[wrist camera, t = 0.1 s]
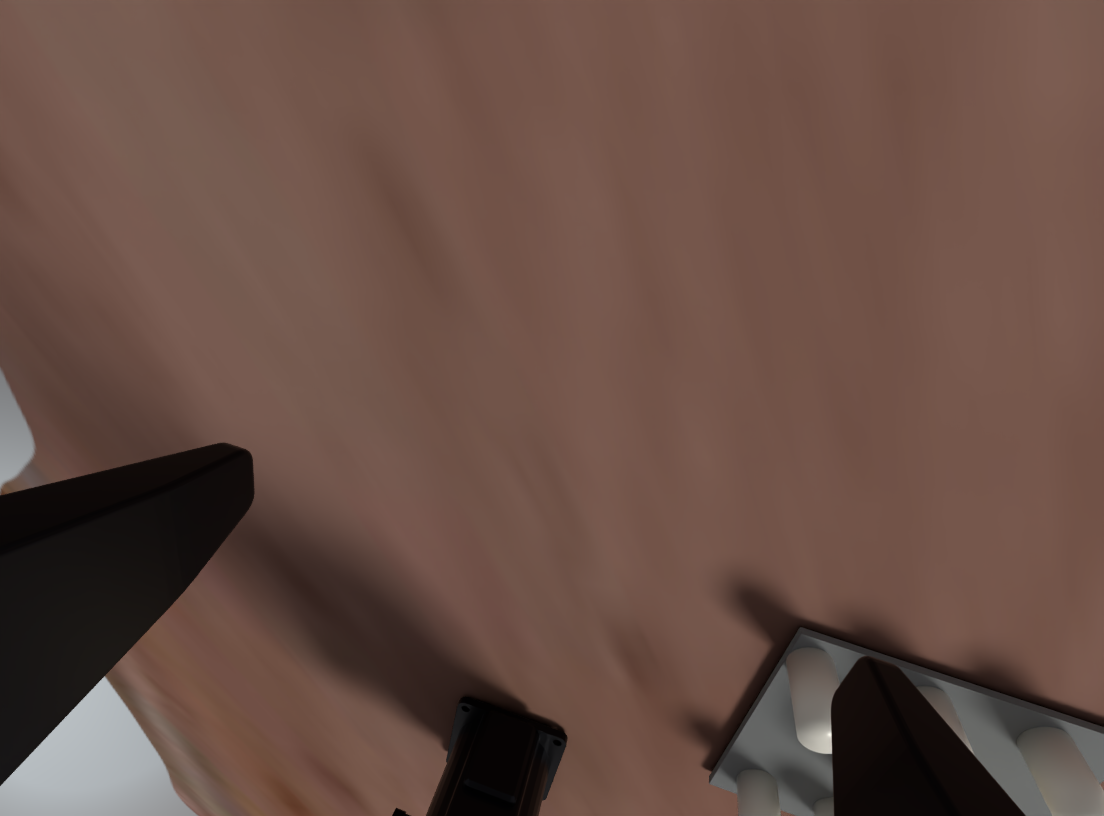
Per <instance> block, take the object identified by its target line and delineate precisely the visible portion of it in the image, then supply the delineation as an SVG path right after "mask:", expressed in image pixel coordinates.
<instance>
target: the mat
mask: <svg viewBox="0 0 1104 816" xmlns="http://www.w3.org/2000/svg"><path fill="white" fill-rule="evenodd" d="M804 647H813V648H818V649H821V650H823V651H825V652H827V653H828V654H829V655H830V656H831V657H832V658H833V660H834V663H835V667H836V671H837V675H838V679H839V684H841V682H842V681H843V680H844V678H845V677H846V675H847V674H848V672H849V671H850V670H851V668H852V667H853V665H854V664H855V663H856V661H857V660H858V659H859V658H861V657H862V656H871V657H874V658H877V659H880V660H883V661H886V662H889V663H892V664H894V665H896V666H897V667H899V668H900V669H901V670H902V671H903V672H904V674H905V675H906V676H907V677H908V678H909V679H910V681H911V682H912V683H913V684H914V685H915V686H916V687H918V686H930V687H935V688H938V689H940V690H942V691H944V692H945V693H946V694H948V696H949V697H950V699H951V701H952V704H953V706H954V708H955V711H956V713H957V715H958V718H959V720H960V722H961V725H962V727H963V729H964V732H965V734H966V736H967V739H968V741H969V743H970V746H971V748H972V750H973V753H974V755H975V757H976V758H977V759H978V760H979V761H980V762H981V764H982V765H983V766H984V767H985V768H986V769H987V771H988V772H989V773H990V774H991V775H992V776H993V778H994V779H995V780H996V781H997V782H998V783H999V785H1000V786H1001V787H1002V788H1003V789H1004V791H1005V792H1006V793H1007V794H1008V795H1009V796H1010V798H1011V799H1012V800H1013V801H1014V802H1015V803H1016V805H1017V806H1018V807H1019V808H1020V809H1021V810H1022V812H1023V813H1024V814H1025V815H1026V816H1052V814H1051V812H1050V810H1049V808H1048V806H1047V804H1046V802H1045V800H1044V798H1043V796H1042V794H1041V792H1040V790H1039V788H1038V786H1037V784H1036V782H1035V780H1034V778H1033V776H1032V774H1031V772H1030V770H1029V768H1028V766H1027V764H1026V762H1025V760H1024V758H1023V756H1022V754H1021V752H1020V750H1019V748H1018V746H1017V739H1018V737H1019V736H1020V734H1022V733H1023V732H1024V731H1026V730H1029V729H1032V728H1036V727H1053V728H1058V729H1061V730H1063V731H1065V732H1067V733H1068V734H1069V735H1070V736H1071V737H1072V739H1073V740H1074V742H1075V744H1076V745H1077V747H1078V749H1079V750H1080V752H1081V754H1082V755H1083V757H1084V759H1085V760H1086V762H1087V764H1088V765H1089V767H1090V769H1091V770H1092V772H1093V774H1094V775H1095V777H1096V779H1097V780H1098V782H1099V784H1100V783H1102V782H1103V781H1104V727H1102V726H1099V725H1096V724H1093V723H1090V722H1087V721H1084V720H1081V719H1078V718H1075V717H1071V716H1068V715H1065V714H1062V713H1059V712H1056V711H1053V710H1050V709H1047V708H1044V707H1041V706H1038V705H1035V704H1032V703H1029V702H1026V701H1023V700H1020V699H1017V698H1014V697H1011V696H1008V695H1005V694H1002V693H999V692H996V691H993V690H990V689H987V688H984V687H981V686H978V685H975V684H972V683H969V682H966V681H963V680H960V679H957V678H953V677H950V676H947V675H944V674H941V673H938V672H935V671H932V670H929V669H926V668H923V667H920V666H917V665H914V664H911V663H908V662H905V661H902V660H899V659H896V658H893V657H890V656H887V655H884V654H881V653H878V652H875V651H872V650H869V649H866V648H863V647H860V646H857V645H854V644H851V643H848V642H845V641H842V640H839V639H836V638H832V637H829V636H826V635H823V634H820V633H817V632H814V631H811V630H808V629H805V628H802V627H800V628H799V630H798V631H797V633H796V635H795V636H794V638H793V639H792V641H791V643H790V644H789V646H788V648H787V649H786V651H785V653H784V654H783V656H782V658H781V659H780V661H779V662H778V664H777V666H776V667H775V669H774V671H773V672H772V674H771V676H770V677H769V679H768V681H767V682H766V684H765V685H764V687H763V689H762V690H761V692H760V694H759V695H758V697H757V699H756V700H755V702H754V704H753V705H752V707H751V708H750V710H749V712H748V713H747V715H746V717H745V718H744V720H743V722H742V723H741V725H740V727H739V728H738V730H737V732H736V733H735V735H734V736H733V738H732V740H731V741H730V743H729V745H728V746H727V748H726V750H725V751H724V753H723V755H722V756H721V758H720V759H719V761H718V763H717V764H716V766H715V768H714V769H713V771H712V773H711V774H710V776H709V784H711V785H714V786H717V787H719V788H722V789H725V790H728V791H730V792H733V793H736V794H737V776H738V774H739V773H740V772H742V771H744V770H748V769H757V770H762V771H765V772H767V773H769V774H771V775H772V776H773V777H774V778H775V779H776V781H777V785H778V794H779V803H780V810H782V811H785V812H787V813H790V814H793V815H796V816H814V810H813V805H814V803H815V802H816V801H818V800H820V799H823V798H833V770H832V754H823V753H818V752H814V751H812V750H809V749H807V748H806V747H804V746H803V745H802V744H801V743H800V742H799V740H798V738H797V732H796V726H795V719H794V712H793V706H792V699H791V692H790V686H789V679H788V673H787V666H786V659H787V657H788V655H789V654H790V653H791V652H792V651H794V650H796V649H799V648H804Z"/></svg>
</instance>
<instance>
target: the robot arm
mask: <svg viewBox="0 0 1104 816" xmlns="http://www.w3.org/2000/svg"><path fill="white" fill-rule="evenodd" d="M253 499H254V473H253V458H252V455H251V453H250V452H249V451H248V450H246V449H244V448H241V447H238V446H235V445H231V444H228V443H217V444H213V445H209V446H205V447H201V448H197V449H192V450H188V451H184V452H180V453H176V454H172V455H167V456H163V457H159V458H155V459H151V460H146V461H142V462H138V463H134V464H130V465H126V466H121V467H117V468H113V469H109V470H105V471H101V472H96V473H92V474H88V475H84V476H80V477H76V478H71V479H67V480H63V481H59V482H55V483H51V484H46V485H42V486H38V487H34V488H30V489H25V490H21V491H17V492H13V493H9V494H5V495H0V786H1V785H2V784H3V782H4V781H5V780H6V779H7V778H8V777H9V776H10V775H11V774H12V773H13V772H14V771H15V770H16V769H17V768H18V767H19V766H20V765H21V763H22V762H23V761H24V760H25V759H26V758H27V757H28V756H29V755H30V754H31V753H32V752H33V751H34V750H35V749H36V748H37V747H38V746H39V744H40V743H41V742H42V741H43V740H44V739H45V738H46V737H47V736H48V735H49V734H50V733H51V732H52V731H53V730H54V729H55V727H57V726H58V725H59V723H60V722H61V721H62V720H63V719H64V718H65V717H66V716H67V715H68V714H69V713H70V712H71V711H72V710H73V709H74V708H75V707H76V706H77V704H78V703H79V702H80V701H81V700H82V699H83V698H84V697H85V696H86V695H87V694H88V693H89V692H90V691H91V690H92V689H93V688H94V686H96V684H97V683H98V682H99V681H100V680H101V679H102V678H103V677H104V676H105V675H106V674H107V673H108V672H109V671H110V670H111V669H112V668H113V667H114V665H115V664H116V663H117V662H118V661H119V660H120V659H121V658H122V657H123V656H124V655H125V654H126V653H127V652H128V651H129V650H130V649H131V648H132V647H133V645H134V644H135V643H136V642H137V641H138V640H139V639H140V638H141V637H142V636H143V635H144V634H145V633H146V632H147V631H148V630H149V629H150V628H151V626H152V625H153V624H154V623H155V622H156V621H157V620H158V619H159V618H160V617H161V616H162V615H163V614H164V613H165V612H166V611H167V610H168V609H169V608H170V606H171V605H172V604H173V603H174V602H175V601H176V600H177V599H178V598H179V597H180V595H181V594H182V593H183V592H184V591H185V590H186V589H187V587H188V586H189V585H190V584H191V583H192V581H193V580H194V579H195V578H196V576H197V575H198V574H199V573H200V571H201V570H202V569H203V567H204V566H205V565H206V564H207V562H208V561H209V560H210V558H211V557H212V556H213V555H214V553H215V552H216V551H217V549H218V548H219V547H220V546H221V544H222V543H223V542H224V541H225V539H226V538H227V537H228V535H229V534H230V533H231V532H232V530H233V529H234V528H235V526H236V525H237V524H238V523H239V521H240V520H241V519H242V517H243V516H244V515H245V514H246V512H247V511H248V510H249V508H250V506H251V504H252V502H253ZM831 737H832V770H833V803H834V816H1026V815H1025V814H1024V813H1023V812H1022V810H1021V809H1020V808H1019V807H1018V806H1017V805H1016V803H1015V802H1014V801H1013V800H1012V799H1011V798H1010V796H1009V795H1008V794H1007V793H1006V792H1005V791H1004V789H1003V788H1002V787H1001V786H1000V785H999V783H998V782H997V781H996V780H995V779H994V778H993V776H992V775H991V774H990V773H989V772H988V771H987V769H986V768H985V767H984V766H983V765H982V764H981V762H980V761H979V760H978V759H977V758H976V757H975V755H974V754H973V753H972V752H971V751H970V750H969V748H968V747H967V746H966V745H965V744H964V743H963V741H962V740H961V739H960V738H959V737H958V736H957V734H956V733H955V732H954V731H953V730H952V729H951V727H950V726H949V725H948V724H947V723H946V722H945V720H944V719H943V718H942V717H941V716H940V714H939V713H938V712H937V711H936V710H935V709H934V707H933V706H932V705H931V704H930V703H929V702H928V700H927V699H926V698H925V697H924V696H923V695H922V693H921V692H920V691H919V690H918V689H917V688H916V686H915V685H914V684H913V683H912V682H911V681H910V679H909V678H908V677H907V676H906V675H905V674H904V672H903V671H902V670H901V669H900V668H899V667H897V666H896V665H894V664H892V663H889V662H886V661H883V660H880V659H877V658H874V657H871V656H862V657H861V658H859V659H858V660H857V661H856V663H855V664H854V665H853V667H852V668H851V670H850V671H849V672H848V674H847V675H846V677H845V678H844V680H843V681H842V682H841V684H840V685H839V687H838V688H837V689H836V691H835V693H834V695H833V698H832V702H831ZM566 743H567V735H566V734H565V733H564V732H562V731H559V730H556V729H554V728H551V727H548V726H546V725H543V724H540V723H537V722H535V721H532V720H529V719H526V718H524V717H521V716H518V715H516V714H513V713H510V712H507V711H505V710H502V709H499V708H497V707H494V706H491V705H488V704H486V703H483V702H480V701H477V700H475V699H472V698H469V697H462V698H461V699H460V701H459V704H458V706H457V711H456V716H455V720H454V725H453V730H452V735H451V740H450V745H449V749H448V754H447V759H446V762H447V765H446V767H445V770H444V772H443V775H442V777H441V779H440V782H439V784H438V787H437V789H436V792H435V794H434V797H433V799H432V802H431V804H430V807H429V809H428V812H427V814H426V816H538V815H539V811H540V807H541V803H542V801H543V800H545V799H546V798H547V795H548V792H549V790H550V787H551V784H552V782H553V779H554V776H555V774H556V771H557V768H558V766H559V763H560V760H561V758H562V755H563V752H564V750H565V747H566ZM392 816H410V815H407V814H406V811H403V810H401V809H398V808H396V809H395V811H394V813H393V815H392Z"/></svg>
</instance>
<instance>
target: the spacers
mask: <svg viewBox="0 0 1104 816" xmlns="http://www.w3.org/2000/svg"><path fill="white" fill-rule="evenodd" d="M786 666H787V673H788V679H789V686H790V692H791V699H792V706H793V712H794V719H795V726H796V732H797V738H798V740H799V742H800V743H801V744H802V745H803V746H804V747H806V748H807V749H809V750H812V751H814V752H818V753H823V754H832V737H831V702H832V698H833V695H834V693H835V691H836V689H837V688H838V687H839V685H840V684H839V679H838V675H837V671H836V667H835V663H834V660H833V658H832V657H831V656H830V655H829V654H828V653H827V652H825V651H823V650H821V649H818V648H813V647H804V648H799V649H796V650H794V651H792V652H791V653H790V654H789V655H788V657H787V659H786ZM916 688H917V689H918V690H919V691H920V692H921V693H922V695H923V696H924V697H925V698H926V699H927V700H928V702H929V703H930V704H931V705H932V706H933V707H934V709H935V710H936V711H937V712H938V713H939V714H940V716H941V717H942V718H943V719H944V720H945V722H946V723H947V724H948V725H949V726H950V727H951V729H952V730H953V731H954V732H955V733H956V734H957V736H958V737H959V738H960V739H961V740H962V741H963V743H964V744H965V745H966V746H967V747H968V748H969V750H970V751H971V752H972V753H973V750H972V748H971V746H970V743H969V741H968V739H967V736H966V734H965V732H964V729H963V727H962V725H961V722H960V720H959V718H958V715H957V713H956V711H955V708H954V706H953V704H952V701H951V699H950V697H949V696H948V694H946V693H945V692H944V691H942V690H940V689H938V688H935V687H930V686H918V687H916ZM1017 746H1018V748H1019V750H1020V752H1021V754H1022V756H1023V758H1024V760H1025V762H1026V764H1027V766H1028V768H1029V770H1030V772H1031V774H1032V776H1033V778H1034V780H1035V782H1036V784H1037V786H1038V788H1039V790H1040V792H1041V794H1042V796H1043V798H1044V800H1045V802H1046V804H1047V806H1048V808H1049V810H1050V812H1051V814H1052V816H1104V790H1103V789H1102V787H1101V785H1100V784H1099V782H1098V780H1097V779H1096V777H1095V775H1094V774H1093V772H1092V770H1091V769H1090V767H1089V765H1088V764H1087V762H1086V760H1085V759H1084V757H1083V755H1082V754H1081V752H1080V750H1079V749H1078V747H1077V745H1076V744H1075V742H1074V740H1073V739H1072V737H1071V736H1070V735H1069V734H1068V733H1067V732H1065V731H1063V730H1061V729H1058V728H1053V727H1036V728H1032V729H1029V730H1026V731H1024V732H1023V733H1022V734H1020V736H1019V737H1018V739H1017ZM973 754H974V753H973ZM737 799H738V816H781V812H780V803H779V794H778V785H777V781H776V779H775V778H774V777H773V776H772V775H771V774H769V773H767V772H765V771H762V770H757V769H748V770H744V771H742V772H740V773H739V774H738V776H737ZM813 810H814V816H834V803H833V798H823V799H820V800H818V801H816V802H815V803H814V805H813Z"/></svg>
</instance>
